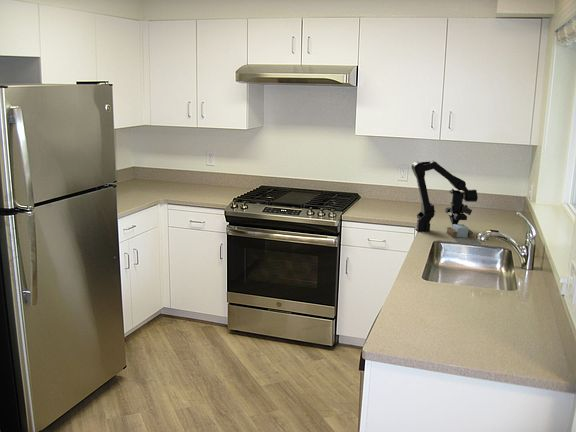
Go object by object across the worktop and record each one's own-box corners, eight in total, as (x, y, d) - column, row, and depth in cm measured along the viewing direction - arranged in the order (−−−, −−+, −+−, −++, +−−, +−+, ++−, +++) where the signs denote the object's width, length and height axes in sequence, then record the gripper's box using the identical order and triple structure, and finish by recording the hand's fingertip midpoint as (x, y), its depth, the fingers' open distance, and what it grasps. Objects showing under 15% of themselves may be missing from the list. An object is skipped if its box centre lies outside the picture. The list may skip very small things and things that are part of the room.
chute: (451, 238, 321) (452, 232, 320) (445, 233, 331) (446, 227, 330) (473, 238, 322) (474, 232, 321) (467, 233, 332) (467, 227, 331)
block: (456, 236, 322) (457, 228, 321) (451, 232, 330) (452, 224, 329) (467, 237, 323) (468, 228, 322) (462, 233, 331) (463, 224, 329)
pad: (459, 244, 310) (459, 243, 310) (451, 238, 321) (451, 237, 321) (482, 244, 310) (482, 244, 310) (473, 238, 322) (473, 237, 322)
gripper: (477, 205, 323) (474, 233, 326) (465, 198, 341) (462, 224, 344) (457, 205, 322) (454, 233, 325) (446, 197, 340) (443, 224, 343)
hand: (454, 228), depth 335 cm, fingers closed
